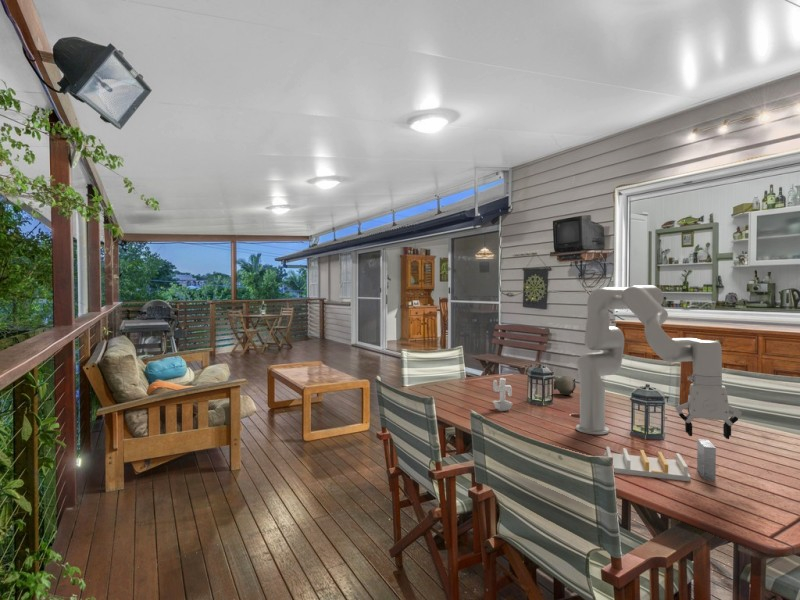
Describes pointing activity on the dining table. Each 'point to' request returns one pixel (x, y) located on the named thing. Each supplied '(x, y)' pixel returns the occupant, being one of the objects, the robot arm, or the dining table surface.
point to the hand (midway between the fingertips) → (707, 436)
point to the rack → (649, 465)
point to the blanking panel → (706, 459)
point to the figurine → (502, 395)
